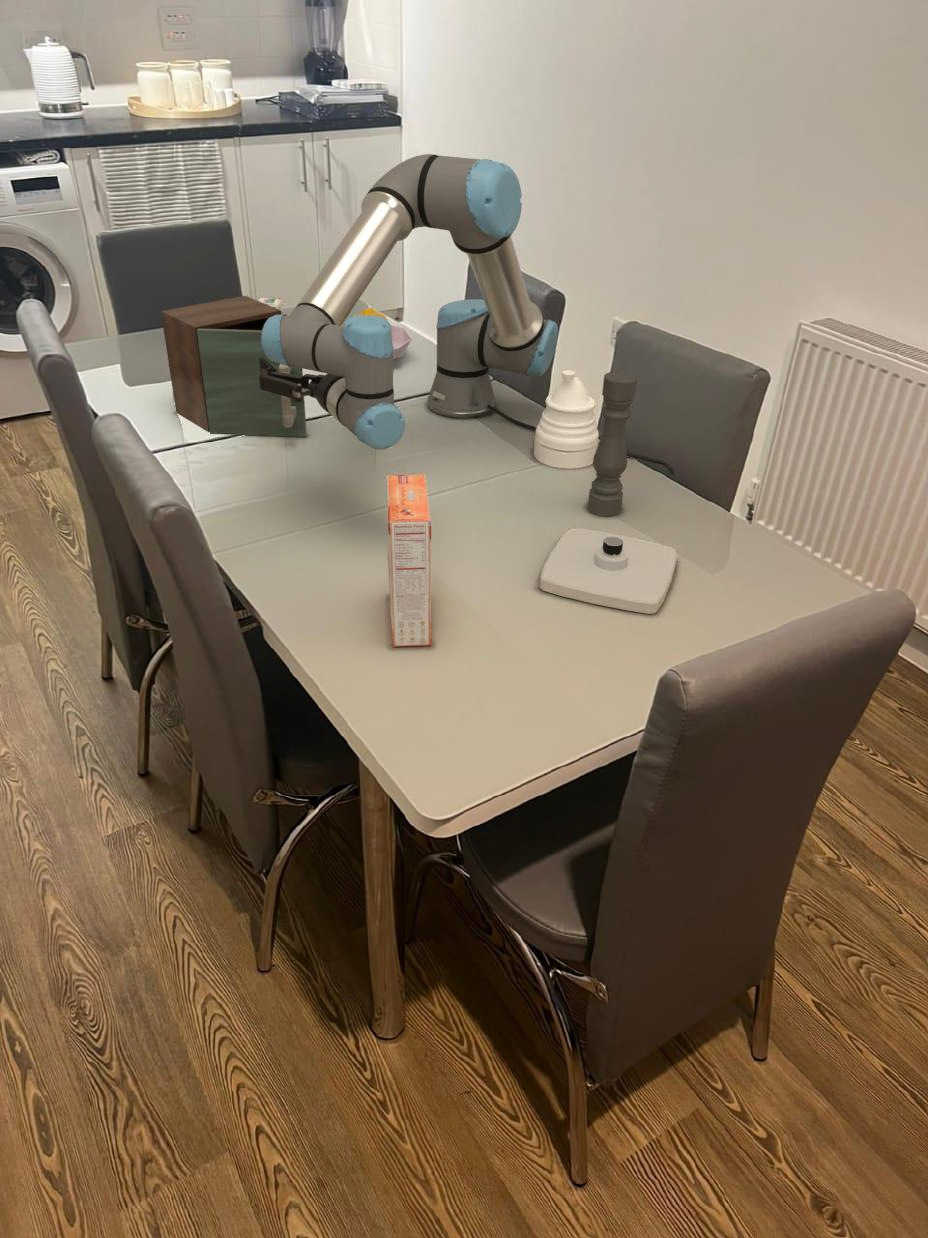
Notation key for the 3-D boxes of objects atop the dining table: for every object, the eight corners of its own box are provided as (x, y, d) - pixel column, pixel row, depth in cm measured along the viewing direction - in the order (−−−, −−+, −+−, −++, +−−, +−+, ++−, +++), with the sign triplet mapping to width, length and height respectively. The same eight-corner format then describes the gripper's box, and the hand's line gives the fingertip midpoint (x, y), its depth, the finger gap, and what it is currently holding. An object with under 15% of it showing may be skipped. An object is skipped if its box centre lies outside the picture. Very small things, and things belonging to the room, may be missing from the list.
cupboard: (289, 410, 208) (281, 310, 195) (208, 432, 196) (195, 327, 184) (254, 392, 216) (245, 295, 204) (175, 412, 204) (160, 310, 192)
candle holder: (623, 504, 174) (642, 373, 160) (617, 519, 169) (635, 385, 155) (591, 498, 176) (606, 368, 162) (583, 513, 171) (599, 380, 157)
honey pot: (579, 474, 185) (588, 385, 175) (522, 458, 190) (528, 371, 180) (606, 452, 194) (617, 367, 184) (551, 437, 199) (558, 354, 189)
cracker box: (388, 596, 145) (385, 472, 134) (426, 595, 146) (427, 472, 134) (389, 648, 134) (387, 518, 122) (431, 647, 134) (433, 518, 123)
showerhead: (532, 591, 148) (658, 619, 142) (535, 557, 144) (664, 584, 139) (565, 535, 163) (680, 558, 158) (569, 503, 160) (686, 526, 155)
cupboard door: (301, 450, 190) (293, 344, 178) (202, 447, 189) (188, 340, 177) (306, 434, 196) (299, 331, 184) (211, 431, 196) (198, 328, 184)
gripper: (277, 432, 154) (233, 390, 168) (411, 406, 164) (359, 369, 179) (273, 388, 149) (229, 349, 164) (411, 365, 160) (358, 330, 175)
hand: (297, 359), depth 172 cm, fingers open, 13 cm apart
